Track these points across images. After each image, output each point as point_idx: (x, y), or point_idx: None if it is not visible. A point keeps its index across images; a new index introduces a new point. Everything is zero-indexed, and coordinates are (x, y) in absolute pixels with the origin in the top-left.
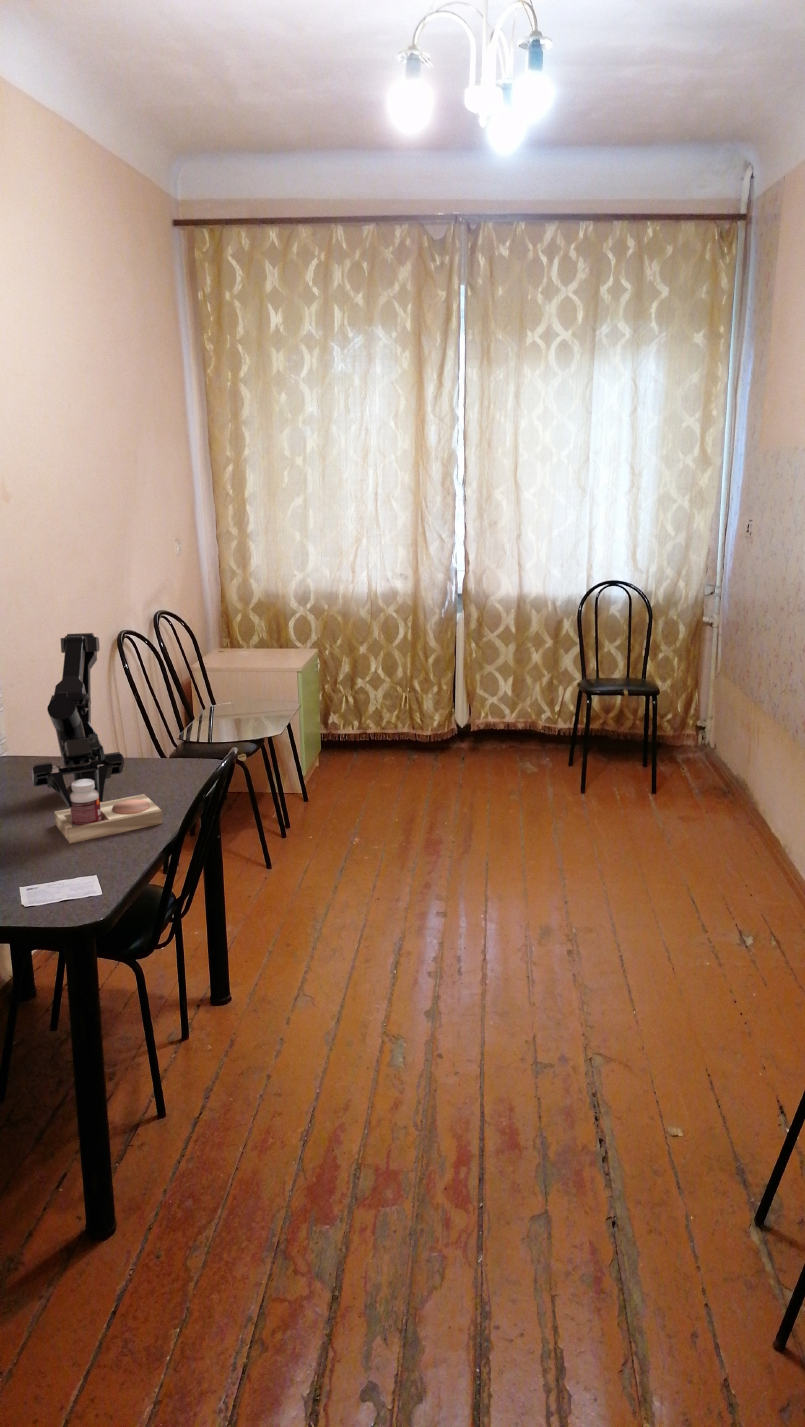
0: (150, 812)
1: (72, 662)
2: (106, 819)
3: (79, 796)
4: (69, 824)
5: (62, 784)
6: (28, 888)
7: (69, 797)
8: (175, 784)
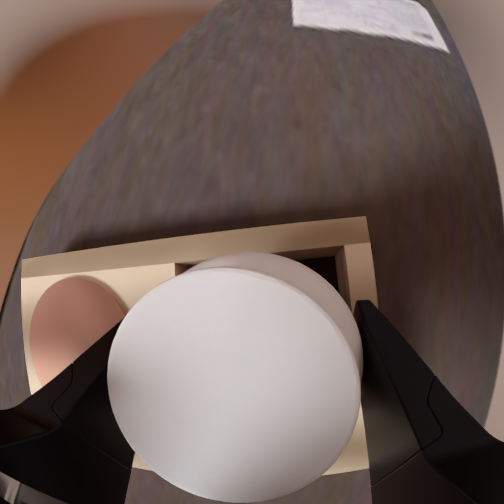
0: (44, 261)
1: None
2: None
3: (297, 280)
4: (354, 285)
5: (441, 430)
6: (431, 39)
7: (370, 337)
8: None
